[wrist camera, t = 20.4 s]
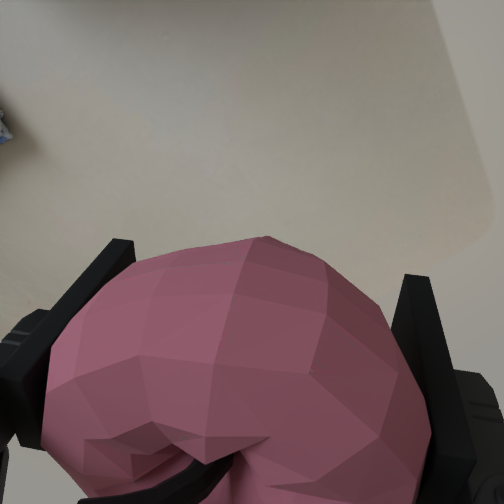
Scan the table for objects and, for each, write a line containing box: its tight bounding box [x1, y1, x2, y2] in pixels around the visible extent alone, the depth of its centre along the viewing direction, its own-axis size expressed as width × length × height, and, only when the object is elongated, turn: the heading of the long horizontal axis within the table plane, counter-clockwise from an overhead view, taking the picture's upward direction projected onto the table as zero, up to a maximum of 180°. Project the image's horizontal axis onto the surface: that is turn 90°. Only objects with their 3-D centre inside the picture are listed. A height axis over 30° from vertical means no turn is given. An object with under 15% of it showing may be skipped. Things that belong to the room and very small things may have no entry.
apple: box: [41, 236, 431, 504], centre depth 12 cm, size 10×9×10 cm
